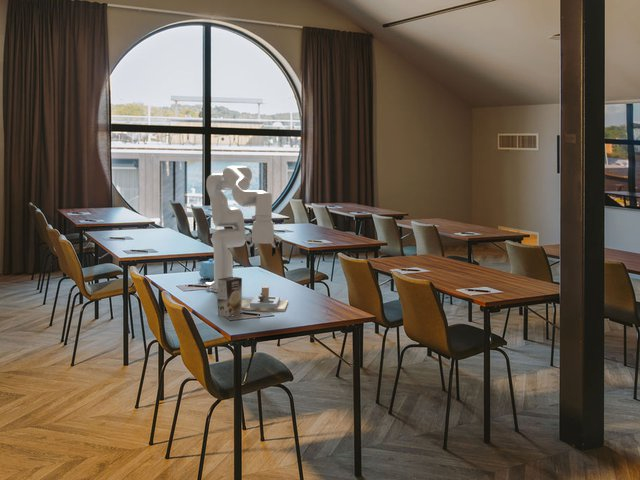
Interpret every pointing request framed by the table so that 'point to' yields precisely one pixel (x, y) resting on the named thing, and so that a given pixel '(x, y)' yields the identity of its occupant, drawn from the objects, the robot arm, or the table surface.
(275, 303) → the panel
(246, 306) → the board
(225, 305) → the coffee box
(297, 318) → the table surface
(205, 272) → the teapot
